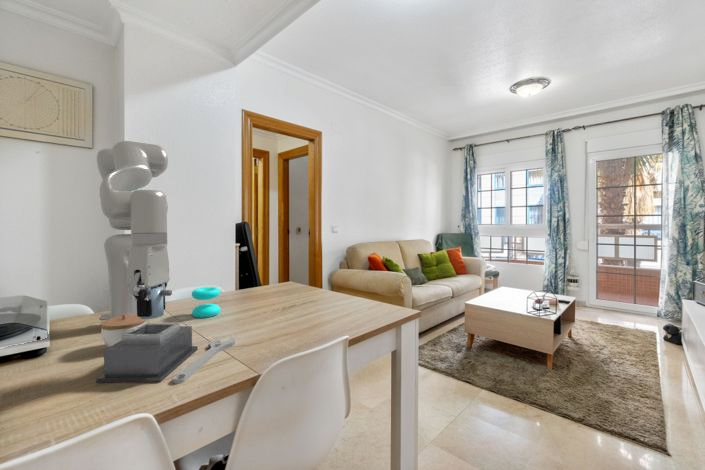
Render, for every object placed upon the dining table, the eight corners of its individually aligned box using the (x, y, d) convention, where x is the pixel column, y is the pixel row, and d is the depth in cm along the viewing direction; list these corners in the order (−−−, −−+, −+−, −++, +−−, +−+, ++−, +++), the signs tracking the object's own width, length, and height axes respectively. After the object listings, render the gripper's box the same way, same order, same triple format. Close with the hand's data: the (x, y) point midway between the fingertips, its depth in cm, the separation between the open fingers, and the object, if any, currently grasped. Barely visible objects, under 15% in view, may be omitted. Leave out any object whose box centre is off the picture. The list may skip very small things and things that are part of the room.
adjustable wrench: (182, 386, 70) (181, 378, 70) (155, 384, 71) (155, 377, 71) (238, 343, 95) (238, 337, 94) (218, 342, 95) (218, 336, 95)
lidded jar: (108, 342, 94) (107, 311, 93) (150, 337, 98) (149, 307, 98) (95, 356, 84) (94, 322, 84) (142, 350, 88) (142, 317, 88)
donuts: (185, 291, 118) (203, 286, 128) (185, 317, 119) (204, 310, 128) (208, 292, 116) (225, 287, 126) (209, 319, 116) (225, 312, 126)
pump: (135, 319, 76) (134, 290, 76) (147, 313, 81) (147, 286, 81) (165, 318, 76) (164, 290, 76) (176, 313, 81) (175, 286, 81)
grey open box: (96, 382, 70) (95, 343, 70) (146, 350, 88) (145, 318, 88) (160, 382, 71) (159, 342, 70) (197, 349, 89) (196, 318, 88)
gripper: (154, 238, 87) (156, 304, 87) (108, 242, 70) (111, 324, 70) (182, 238, 87) (184, 304, 87) (143, 242, 70) (145, 323, 70)
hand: (151, 312), depth 79 cm, fingers closed on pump, 5 cm apart
